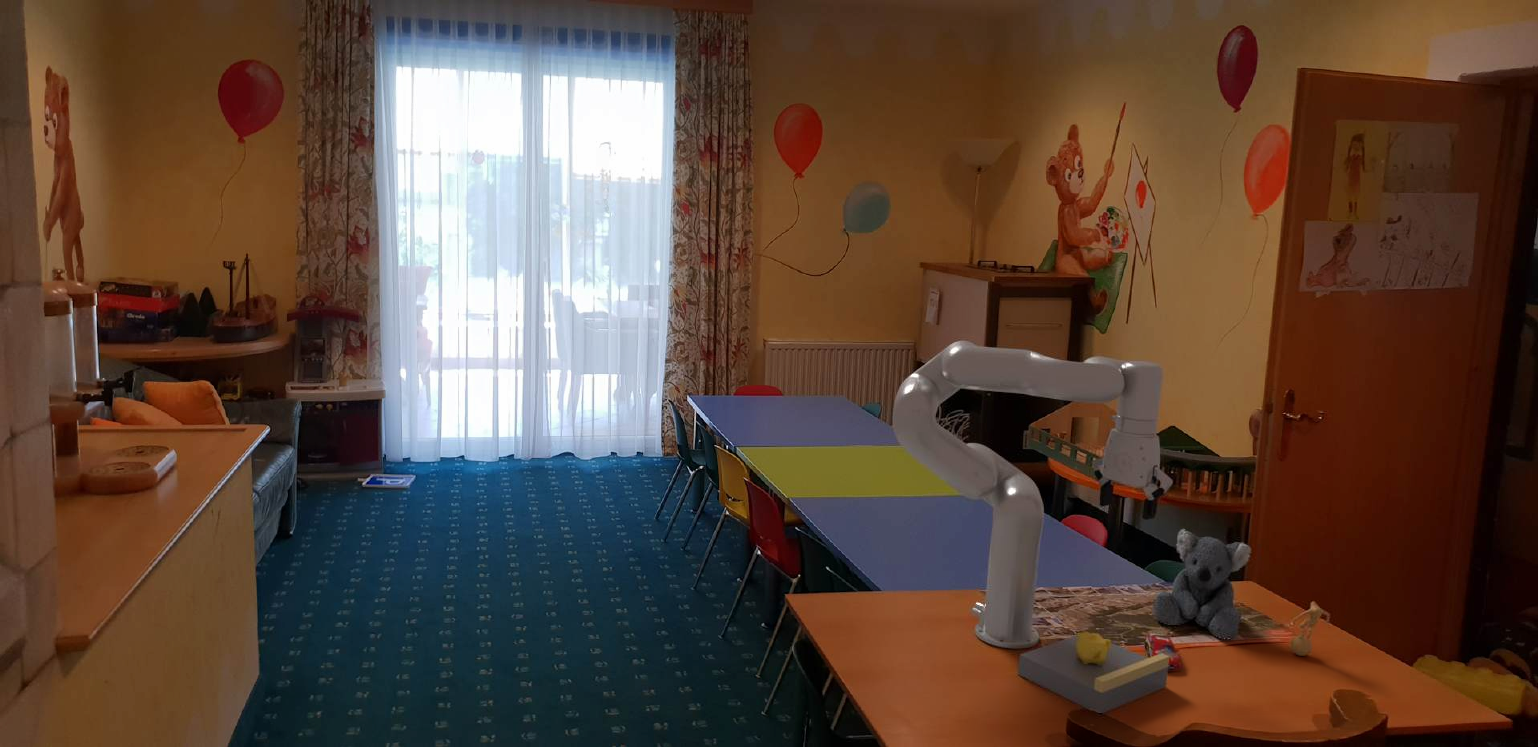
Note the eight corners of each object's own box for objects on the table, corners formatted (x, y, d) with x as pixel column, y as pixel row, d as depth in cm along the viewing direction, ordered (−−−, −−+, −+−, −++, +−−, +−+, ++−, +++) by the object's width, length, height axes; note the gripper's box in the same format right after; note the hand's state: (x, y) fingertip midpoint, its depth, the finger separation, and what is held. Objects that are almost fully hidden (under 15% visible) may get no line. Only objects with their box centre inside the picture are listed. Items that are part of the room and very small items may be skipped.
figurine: (1312, 650, 221) (1320, 594, 219) (1331, 663, 215) (1340, 605, 213) (1275, 651, 219) (1282, 594, 217) (1293, 663, 214) (1301, 606, 212)
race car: (1181, 676, 206) (1184, 656, 205) (1151, 672, 207) (1154, 652, 206) (1170, 648, 219) (1173, 629, 218) (1142, 644, 220) (1144, 626, 219)
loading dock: (1017, 674, 202) (1020, 644, 201) (1084, 651, 214) (1087, 622, 213) (1099, 714, 188) (1102, 681, 187) (1165, 686, 200) (1169, 656, 199)
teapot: (1116, 671, 196) (1119, 644, 196) (1084, 670, 196) (1087, 643, 195) (1101, 652, 204) (1104, 626, 203) (1071, 651, 204) (1074, 625, 203)
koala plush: (1148, 623, 231) (1158, 535, 227) (1167, 599, 246) (1176, 515, 242) (1235, 644, 222) (1247, 553, 218) (1249, 617, 237) (1261, 531, 233)
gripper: (1086, 418, 213) (1077, 502, 216) (1165, 437, 200) (1154, 526, 203) (1109, 415, 218) (1100, 497, 221) (1188, 433, 204) (1177, 521, 207)
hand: (1126, 511), depth 212 cm, fingers open, 9 cm apart
